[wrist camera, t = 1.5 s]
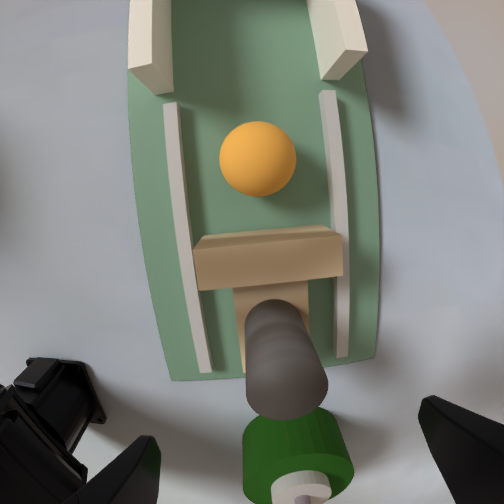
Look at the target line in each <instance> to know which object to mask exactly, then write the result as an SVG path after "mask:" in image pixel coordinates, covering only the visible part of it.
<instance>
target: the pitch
mask: <svg viewBox="0 0 504 504" xmlns="http://www.w3.org/2000/svg"><path fill="white" fill-rule="evenodd" d="M367 52H368V48H367V44H366V40H365V35H364V31H363V27H362V23H361V19H360V16H359V12H358V8H357V5H356V1H355V0H130V10H129V28H128V110H129V130H130V145H131V158H132V169H133V180H134V189H135V198H136V206H137V214H138V221H139V228H140V235H141V242H142V248H143V254H144V260H145V266H146V271H147V277H148V282H149V287H150V293H151V298H152V302H153V307H154V312H155V316H156V321H157V325H158V330H159V334H160V338H161V343H162V347H163V351H164V355H165V359H166V362H167V366H168V370H169V374H170V377H171V381H187V380H210V379H227V378H240V377H246V373H243V367H242V360H241V353H240V345H239V337H238V330H237V322H236V314H235V306H234V298H233V290H232V288H225V289H214V290H203V291H199V289H198V283H197V276H196V269H195V263H194V255H193V249H194V248H195V246H196V245H197V243H198V242H199V241H200V239H201V238H202V237H203V236H205V235H214V234H224V233H234V232H243V231H253V230H263V229H274V228H284V227H295V226H306V225H317V224H322V225H324V226H326V227H328V228H330V229H332V230H333V231H335V232H337V233H339V234H341V235H342V249H343V276H336V277H328V278H319V279H311V280H307V282H308V306H309V336H310V338H311V341H312V343H313V345H314V348H315V350H316V352H317V355H318V357H319V359H320V362H321V364H322V367H329V366H335V365H341V364H346V363H352V362H357V361H362V360H367V359H372V358H374V355H375V344H376V332H377V317H378V297H379V210H378V190H377V175H376V163H375V152H374V143H373V134H372V126H371V118H370V111H369V104H368V97H367V91H366V85H365V79H364V74H363V68H362V63H361V58H362V57H363V56H364V55H365V54H366V53H367ZM254 121H262V122H267V123H271V124H273V125H275V126H277V127H279V128H280V129H282V130H283V131H284V132H285V133H286V134H287V135H288V136H289V138H290V139H291V141H292V143H293V145H294V148H295V152H296V166H295V170H294V173H293V175H292V177H291V179H290V180H289V182H288V183H287V184H286V185H285V186H284V187H283V188H282V189H280V190H279V191H277V192H275V193H273V194H270V195H267V196H258V197H256V196H249V195H245V194H243V193H241V192H239V191H237V190H235V189H234V188H233V187H232V186H231V185H230V184H229V183H228V182H227V181H226V179H225V178H224V176H223V174H222V171H221V168H220V163H219V155H220V149H221V146H222V144H223V142H224V140H225V138H226V137H227V135H228V134H229V133H230V132H231V131H232V130H234V129H235V128H236V127H238V126H240V125H242V124H244V123H248V122H254Z"/></svg>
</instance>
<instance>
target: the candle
mask: <svg viewBox="0 0 504 504" xmlns="http://www.w3.org/2000/svg"><path fill="white" fill-rule="evenodd" d="M242 445H243V491H244V494H245V496H246V497H247V498H248V499H249V500H250V501H252V502H253V503H255V504H322V503H324V502H325V501H327V500H329V499H331V498H333V497H335V496H336V495H338V494H339V493H341V492H342V491H343V490H344V489H345V488H346V487H347V486H348V485H349V484H350V483H351V481H352V479H353V476H354V468H353V465H352V462H351V459H350V457H349V454H348V451H347V448H346V446H345V443H344V440H343V438H342V435H341V432H340V429H339V427H338V424H337V421H336V420H335V418H334V417H333V415H332V414H331V413H329V412H328V411H327V410H325V409H323V408H321V407H317V408H316V409H315V410H313V411H312V412H310V413H309V414H307V415H305V416H302V417H300V418H296V419H292V420H273V419H268V418H265V417H263V416H261V415H259V416H258V417H256V418H255V419H254V420H253V421H251V422H250V423H249V425H248V426H247V427H246V429H245V431H244V434H243V441H242Z"/></svg>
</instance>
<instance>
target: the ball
mask: <svg viewBox="0 0 504 504" xmlns="http://www.w3.org/2000/svg"><path fill="white" fill-rule="evenodd" d="M219 163H220V168H221V171H222V174H223V176H224V178H225V179H226V181H227V182H228V183H229V184H230V185H231V186H232V187H233V188H234V189H235V190H237V191H239V192H241V193H243V194H245V195H249V196H256V197H258V196H267V195H270V194H273V193H275V192H277V191H279V190H280V189H282V188H283V187H284V186H285V185H286V184H287V183H288V182H289V180H290V179H291V177H292V175H293V173H294V170H295V166H296V152H295V148H294V145H293V143H292V141H291V139H290V138H289V136H288V135H287V134H286V133H285V132H284V131H283V130H282V129H280V128H279V127H277V126H275V125H273V124H271V123H267V122H262V121H254V122H248V123H244V124H242V125H240V126H238V127H236V128H235V129H234V130H232V131H231V132H230V133H229V134H228V135H227V137H226V138H225V140H224V142H223V144H222V146H221V149H220V155H219Z"/></svg>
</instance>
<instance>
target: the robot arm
mask: <svg viewBox="0 0 504 504" xmlns="http://www.w3.org/2000/svg"><path fill="white" fill-rule="evenodd" d="M26 364H27V366H28V367H27V368H26V369H25V370H24V371H23V372H22V373H21V374H20V375H19V376H18V377H17V378H16V379H15V380H14V382H13V384H14V386H15V387H14V386H13V385H12V384H11V385H9V386H7V387H4V386H3V385H1V384H0V504H156V503H157V499H158V492H159V479H160V465H161V452H160V449H159V447H158V445H157V443H156V440H155V438H154V437H153V436H150V435H141V436H140V437H138V438H137V439H136V440H135V441H134V442H133V443H132V444H131V445H130V446H129V447H127V448H126V449H125V450H124V451H123V452H122V453H121V454H120V455H119V456H117V457H116V458H115V459H114V460H113V461H112V462H111V463H109V464H108V465H107V466H106V467H105V468H104V469H103V470H101V471H100V472H99V473H98V474H97V475H96V476H95V477H93V478H92V479H91V480H90V481H89V482H87V473H88V468H87V467H86V466H85V465H84V464H81V463H80V462H79V461H78V460H77V459H76V458H75V457H74V456H73V455H72V454H73V452H74V450H75V448H76V446H77V444H78V443H79V441H80V439H81V437H82V435H83V433H84V432H85V430H86V428H87V426H88V424H89V423H97V424H104V423H105V422H106V416H105V414H104V412H103V410H102V408H101V405H100V403H99V401H98V399H97V396H96V394H95V391H94V389H93V387H92V384H91V382H90V379H89V377H88V374H87V371H86V369H85V366H84V365H83V363H81V362H79V361H67V360H59V359H53V358H41V357H37V358H29V359H27V361H26ZM77 366H78V367H79V368H80V369H79V368H78V367H77ZM418 420H419V423H420V426H421V428H422V431H423V434H424V436H425V439H426V442H427V444H428V447H429V450H430V452H431V454H432V456H433V458H434V460H435V462H436V464H437V466H438V468H439V470H440V472H441V474H442V476H443V478H444V480H445V482H446V484H447V486H448V488H449V490H450V492H451V494H452V496H453V499H454V501H455V503H456V504H504V425H503V424H501V423H498V422H496V421H493V420H491V419H488V418H486V417H484V416H481V415H479V414H476V413H474V412H472V411H469V410H467V409H465V408H462V407H460V406H458V405H455V404H453V403H451V402H449V401H446V400H444V399H442V398H440V397H437V396H435V395H431V396H428V397H425V398H423V400H422V402H421V406H420V410H419V413H418ZM86 482H87V483H86Z"/></svg>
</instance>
